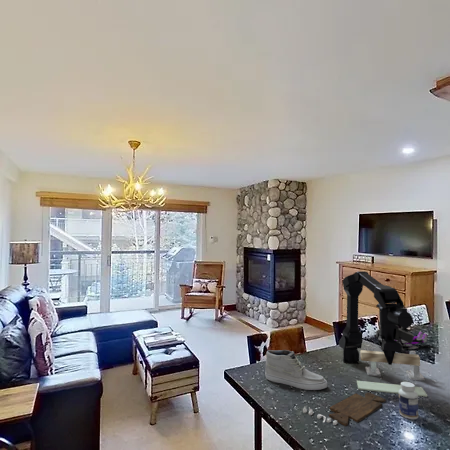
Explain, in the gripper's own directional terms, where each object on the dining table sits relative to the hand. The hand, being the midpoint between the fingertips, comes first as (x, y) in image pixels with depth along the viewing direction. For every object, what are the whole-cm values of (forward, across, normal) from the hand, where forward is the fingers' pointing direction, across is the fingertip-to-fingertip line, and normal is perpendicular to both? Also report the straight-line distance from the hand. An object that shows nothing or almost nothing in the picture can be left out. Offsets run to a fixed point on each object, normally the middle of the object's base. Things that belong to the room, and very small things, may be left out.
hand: (389, 363), depth 124 cm
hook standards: (+10, +15, -4) cm, 18 cm away
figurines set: (+10, -28, +26) cm, 40 cm away
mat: (+10, 0, 0) cm, 10 cm away
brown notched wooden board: (+10, -18, +13) cm, 25 cm away
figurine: (+10, +56, -16) cm, 59 cm away
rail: (0, 0, 0) cm, 1 cm away
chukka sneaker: (+10, -4, +35) cm, 37 cm away
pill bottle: (+10, -19, -2) cm, 22 cm away
